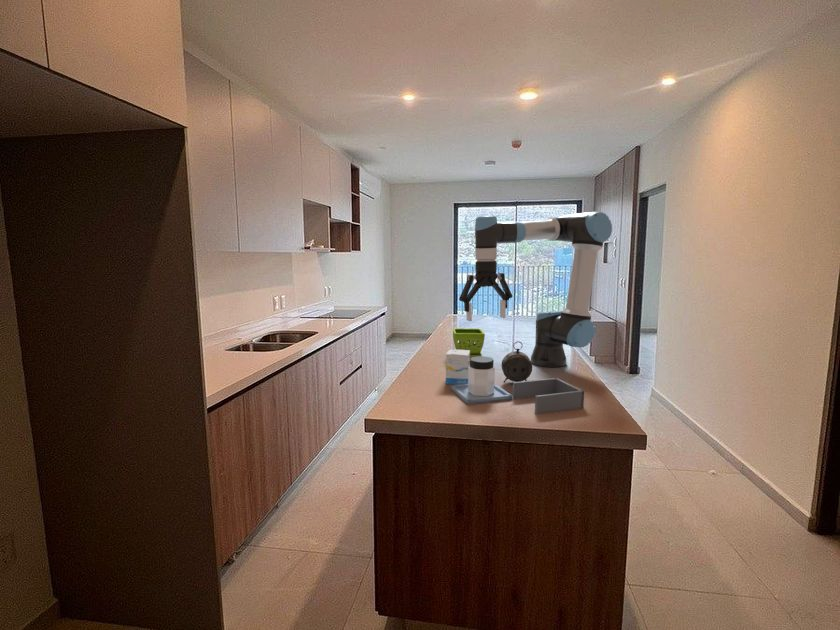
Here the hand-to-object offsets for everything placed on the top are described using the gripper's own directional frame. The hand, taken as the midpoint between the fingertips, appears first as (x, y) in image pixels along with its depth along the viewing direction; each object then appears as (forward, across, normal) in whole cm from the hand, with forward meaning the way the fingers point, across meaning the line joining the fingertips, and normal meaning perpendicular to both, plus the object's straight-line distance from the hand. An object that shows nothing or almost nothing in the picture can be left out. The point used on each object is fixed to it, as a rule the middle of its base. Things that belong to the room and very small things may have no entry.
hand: (486, 319), depth 157 cm
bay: (+25, -10, +24) cm, 36 cm away
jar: (+24, +7, +9) cm, 27 cm away
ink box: (+25, +9, -7) cm, 27 cm away
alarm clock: (+25, -11, +3) cm, 28 cm away
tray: (+25, +7, +9) cm, 27 cm away
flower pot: (+26, -10, -39) cm, 48 cm away
